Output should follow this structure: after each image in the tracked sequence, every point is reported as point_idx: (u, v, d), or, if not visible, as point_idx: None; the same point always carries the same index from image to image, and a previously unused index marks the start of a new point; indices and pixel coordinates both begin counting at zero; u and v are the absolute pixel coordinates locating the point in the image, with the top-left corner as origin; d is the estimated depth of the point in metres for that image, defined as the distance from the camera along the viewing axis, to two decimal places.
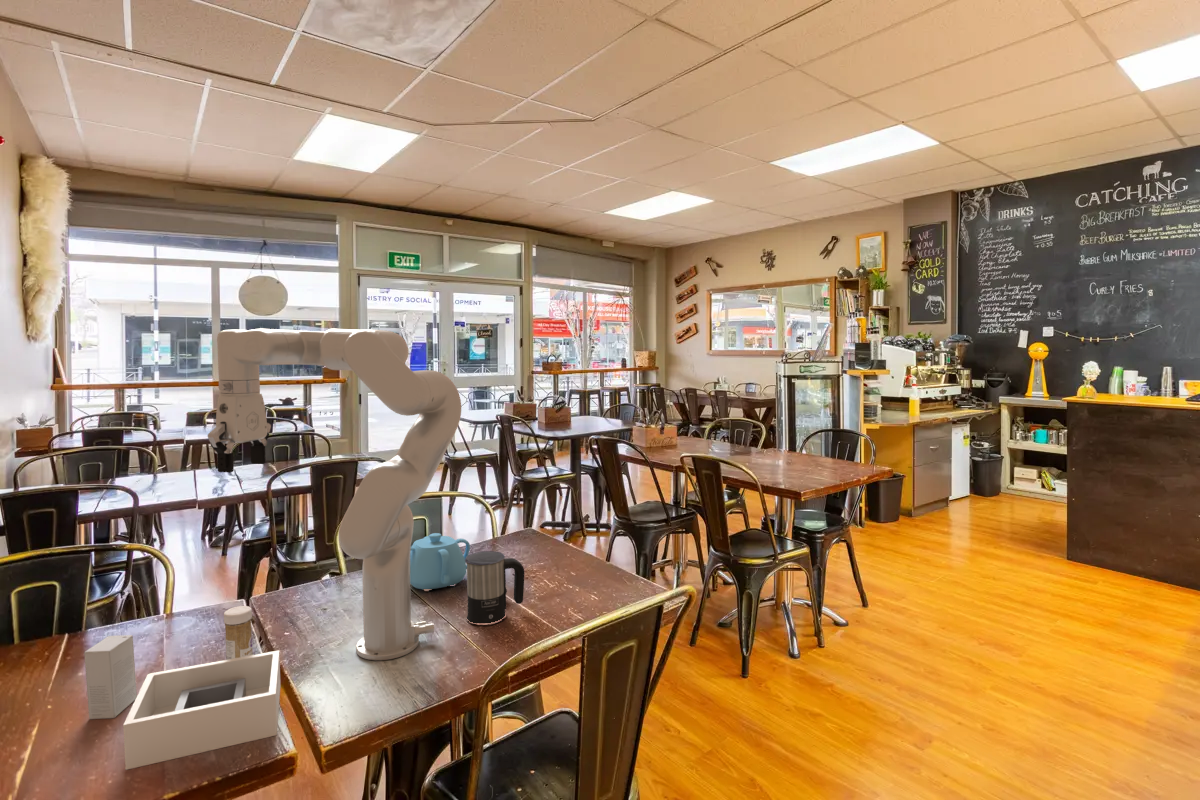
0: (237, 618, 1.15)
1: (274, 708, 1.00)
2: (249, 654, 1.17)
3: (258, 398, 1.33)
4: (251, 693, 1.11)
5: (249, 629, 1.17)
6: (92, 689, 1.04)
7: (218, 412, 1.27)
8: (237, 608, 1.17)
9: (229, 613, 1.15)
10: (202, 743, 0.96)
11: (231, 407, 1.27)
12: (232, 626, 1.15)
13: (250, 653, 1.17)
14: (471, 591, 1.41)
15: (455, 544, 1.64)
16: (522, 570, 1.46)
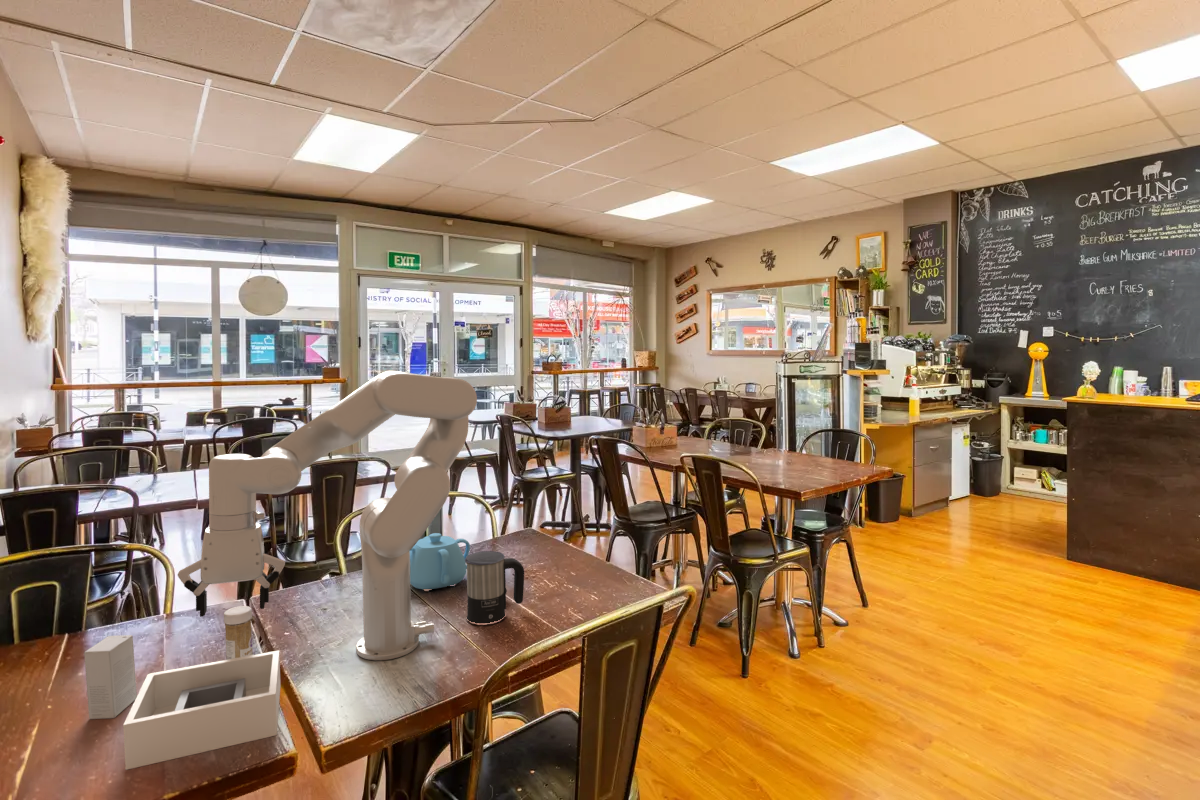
0: (237, 618, 1.15)
1: (274, 708, 1.00)
2: (249, 654, 1.17)
3: None
4: (251, 693, 1.11)
5: (249, 629, 1.17)
6: (92, 689, 1.04)
7: (261, 545, 1.16)
8: (237, 608, 1.17)
9: (229, 613, 1.15)
10: (202, 743, 0.96)
11: None
12: (232, 626, 1.15)
13: (250, 653, 1.17)
14: (471, 591, 1.41)
15: (455, 544, 1.64)
16: (522, 570, 1.46)
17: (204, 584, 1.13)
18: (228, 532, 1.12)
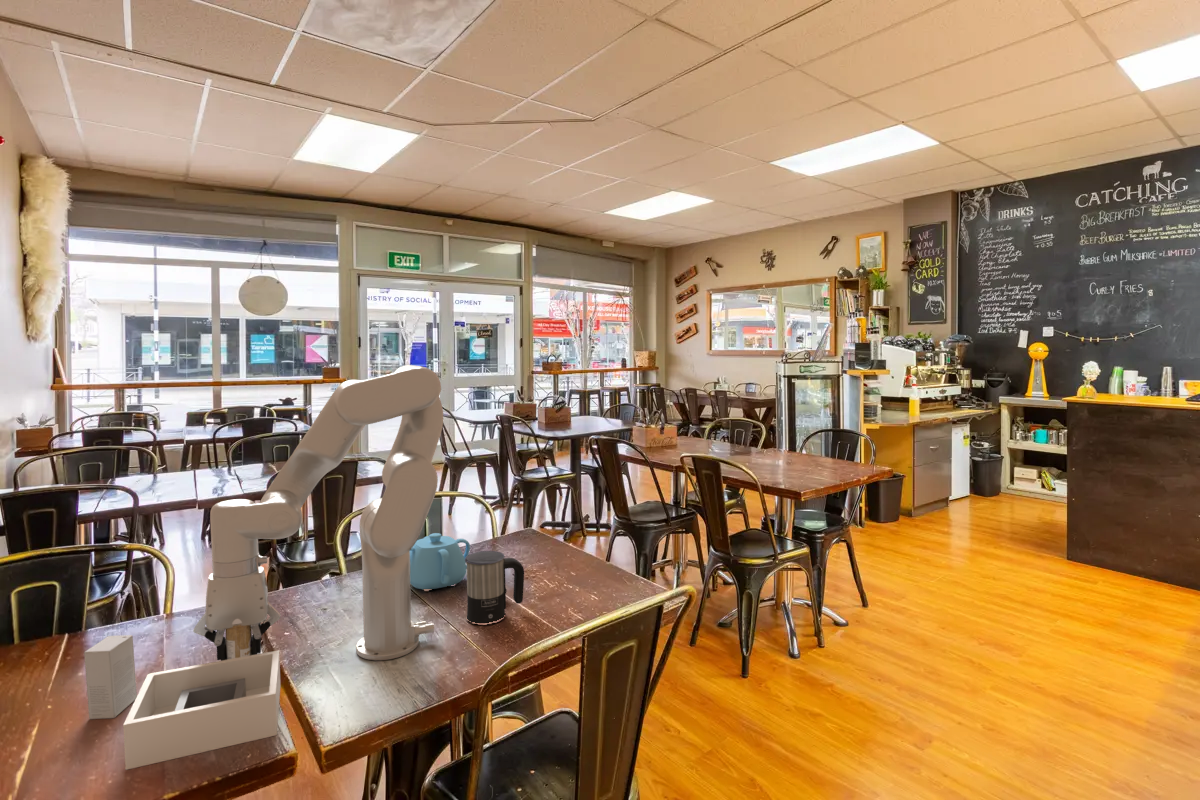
0: None
1: (274, 708, 1.00)
2: (249, 654, 1.17)
3: None
4: (251, 693, 1.11)
5: (249, 629, 1.17)
6: (92, 689, 1.04)
7: (265, 588, 1.17)
8: None
9: None
10: (202, 743, 0.96)
11: None
12: None
13: (250, 653, 1.17)
14: (471, 591, 1.41)
15: (455, 544, 1.64)
16: (522, 570, 1.46)
17: (219, 633, 1.14)
18: (231, 579, 1.13)
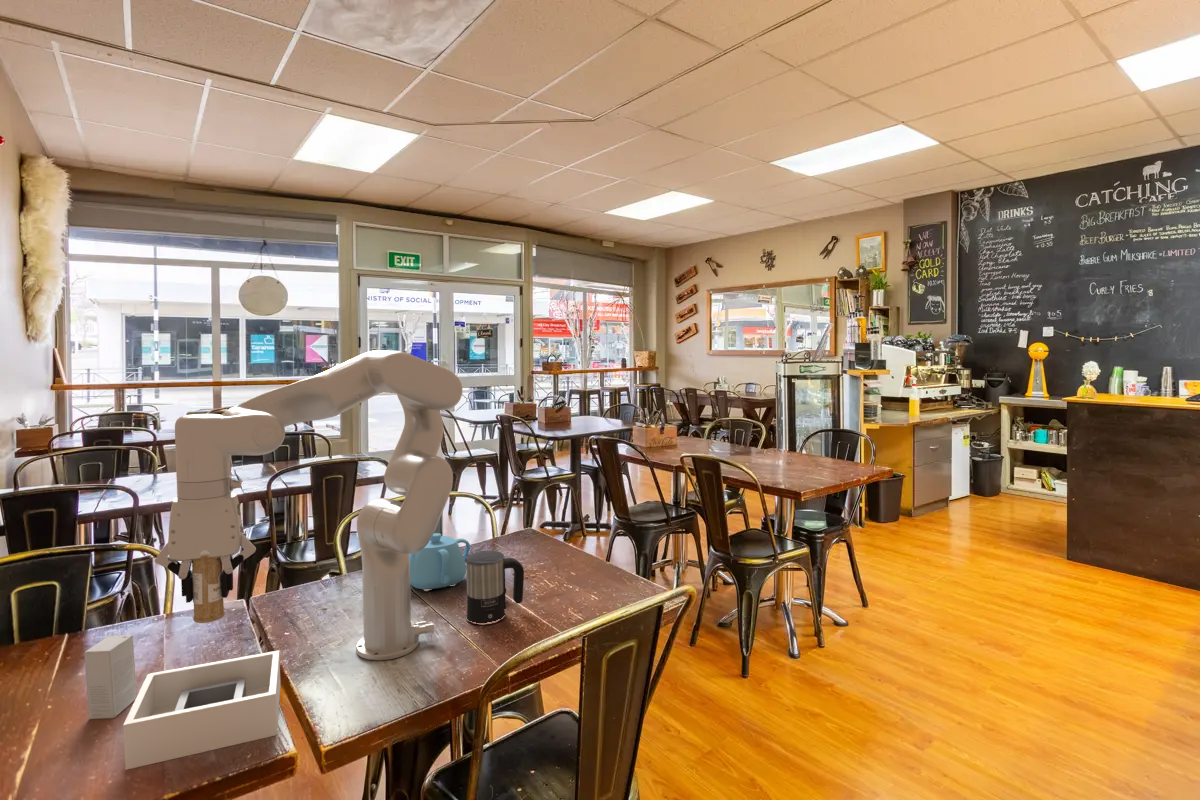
0: None
1: (274, 708, 1.00)
2: (219, 590, 1.02)
3: None
4: (251, 693, 1.11)
5: (219, 562, 1.02)
6: (92, 689, 1.04)
7: (237, 516, 1.03)
8: None
9: None
10: (202, 743, 0.96)
11: None
12: None
13: (220, 590, 1.03)
14: (471, 591, 1.41)
15: (455, 544, 1.64)
16: (522, 570, 1.47)
17: (184, 564, 1.00)
18: (198, 501, 0.98)
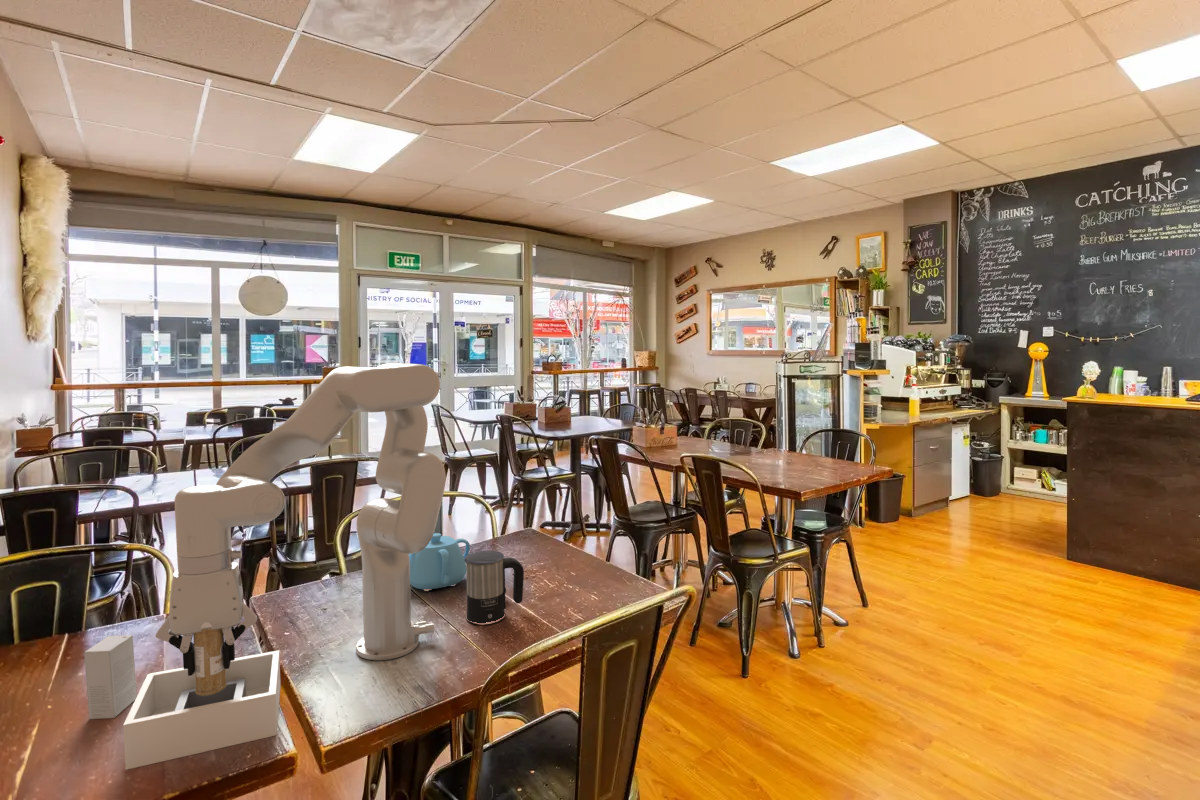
0: None
1: (274, 708, 1.00)
2: (221, 662, 1.02)
3: None
4: (251, 693, 1.11)
5: (221, 633, 1.02)
6: (92, 689, 1.04)
7: (239, 587, 1.03)
8: None
9: None
10: (202, 743, 0.96)
11: None
12: (201, 630, 1.00)
13: (222, 661, 1.03)
14: (471, 591, 1.41)
15: (455, 544, 1.64)
16: (521, 570, 1.47)
17: (186, 638, 1.00)
18: (199, 576, 0.98)
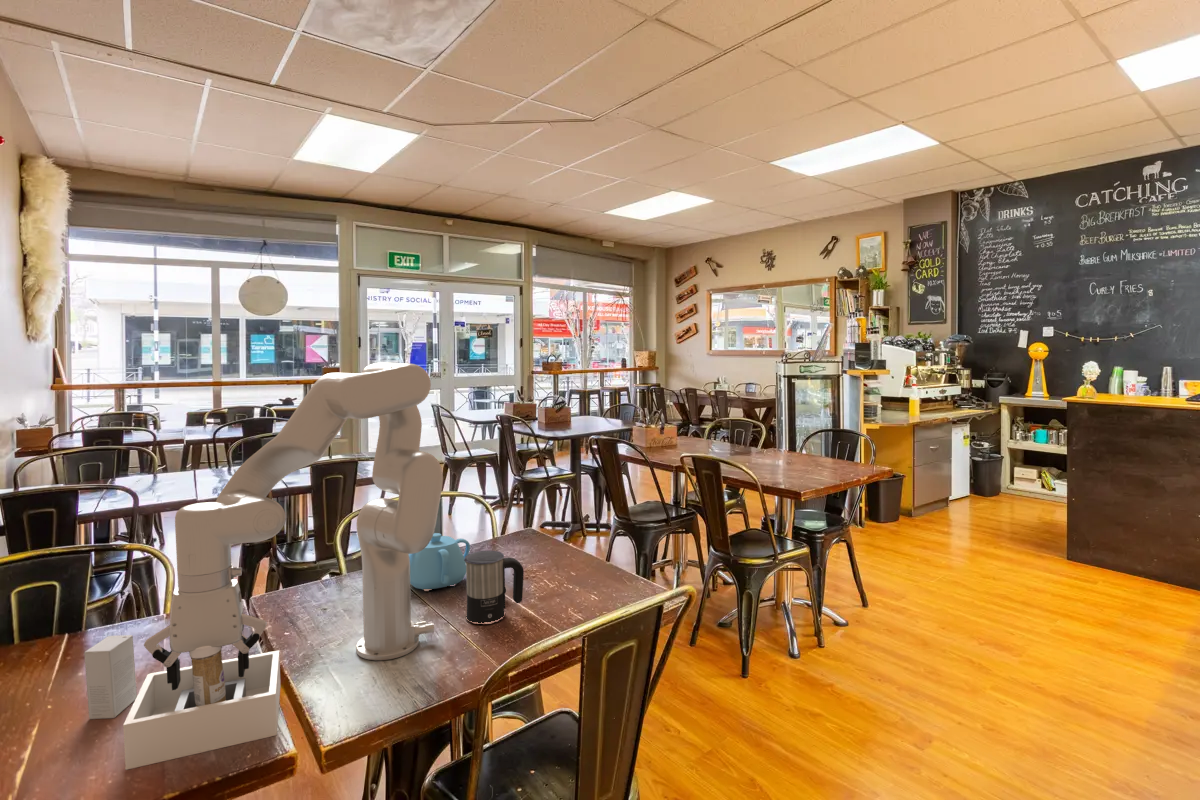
0: (204, 651, 1.00)
1: (274, 708, 1.00)
2: (220, 690, 1.02)
3: None
4: (251, 693, 1.11)
5: (219, 662, 1.02)
6: (92, 689, 1.04)
7: (239, 604, 1.03)
8: None
9: None
10: (202, 743, 0.96)
11: None
12: (199, 660, 1.00)
13: (222, 689, 1.03)
14: (471, 591, 1.41)
15: (455, 544, 1.64)
16: (521, 569, 1.47)
17: (175, 653, 0.99)
18: (199, 594, 0.98)
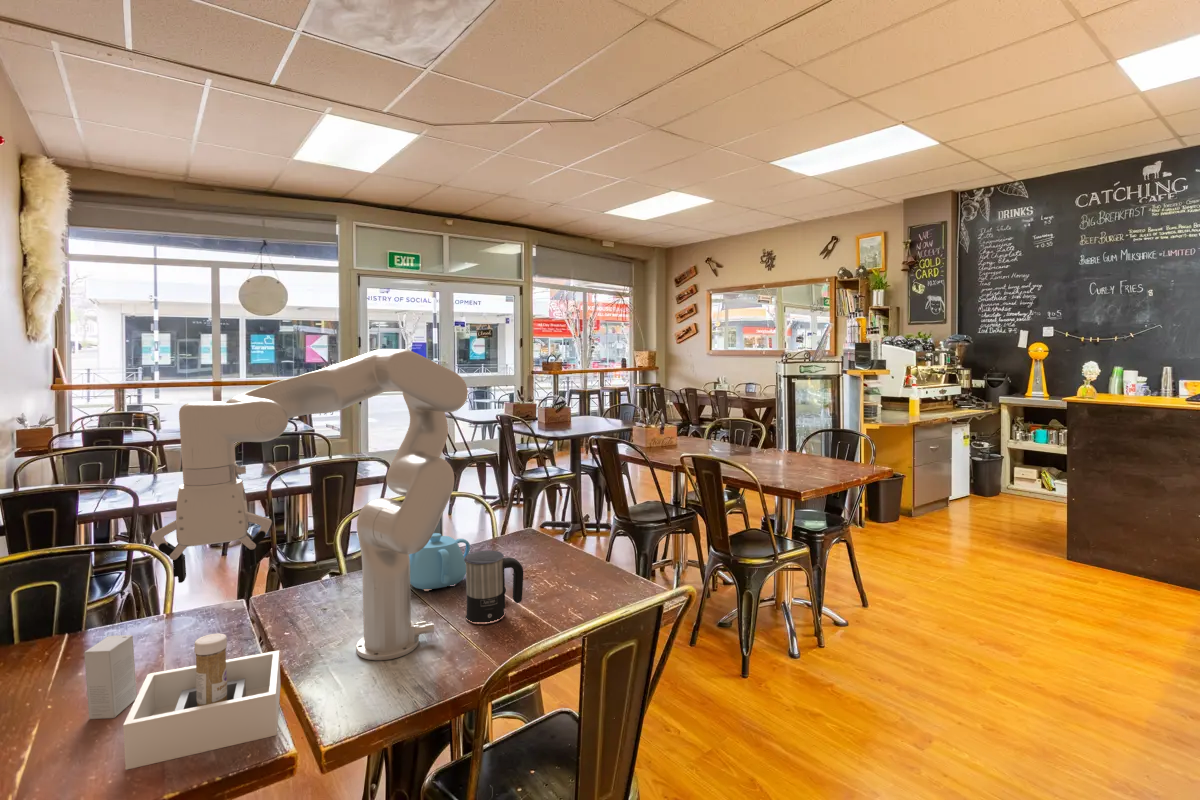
0: (210, 648, 1.01)
1: (274, 708, 1.00)
2: (222, 689, 1.03)
3: None
4: (251, 693, 1.11)
5: (223, 660, 1.03)
6: (92, 689, 1.04)
7: (244, 501, 1.04)
8: (210, 636, 1.04)
9: (200, 642, 1.01)
10: (202, 743, 0.96)
11: None
12: (204, 657, 1.01)
13: (224, 688, 1.03)
14: (470, 590, 1.42)
15: (455, 544, 1.64)
16: (521, 569, 1.47)
17: (181, 546, 1.01)
18: (205, 487, 1.00)
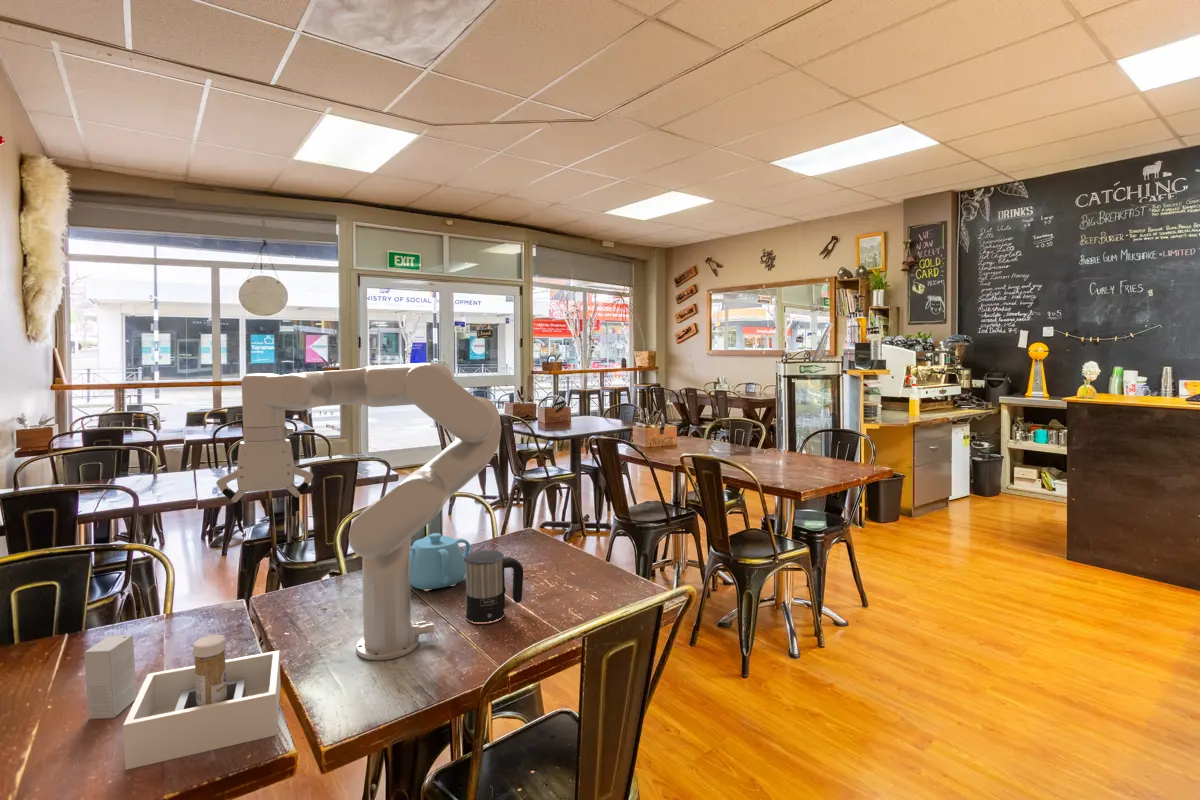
0: (208, 651, 1.00)
1: (274, 708, 1.00)
2: (222, 690, 1.03)
3: None
4: (251, 693, 1.11)
5: (222, 662, 1.03)
6: (92, 689, 1.04)
7: (291, 457, 1.26)
8: (209, 638, 1.03)
9: (199, 645, 1.01)
10: (202, 743, 0.96)
11: None
12: (202, 659, 1.00)
13: (223, 689, 1.03)
14: (470, 590, 1.42)
15: (455, 544, 1.64)
16: (521, 569, 1.47)
17: (241, 491, 1.23)
18: (261, 443, 1.21)
